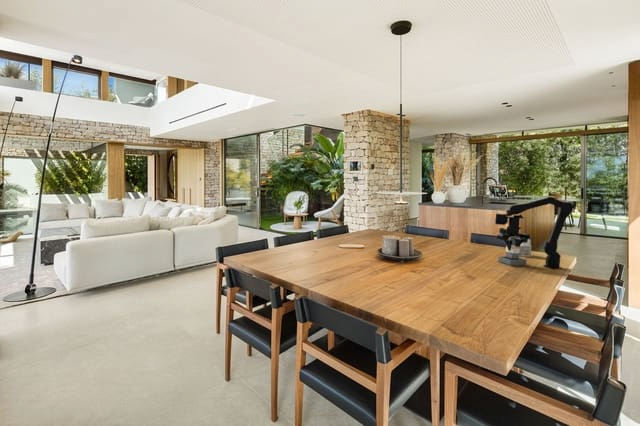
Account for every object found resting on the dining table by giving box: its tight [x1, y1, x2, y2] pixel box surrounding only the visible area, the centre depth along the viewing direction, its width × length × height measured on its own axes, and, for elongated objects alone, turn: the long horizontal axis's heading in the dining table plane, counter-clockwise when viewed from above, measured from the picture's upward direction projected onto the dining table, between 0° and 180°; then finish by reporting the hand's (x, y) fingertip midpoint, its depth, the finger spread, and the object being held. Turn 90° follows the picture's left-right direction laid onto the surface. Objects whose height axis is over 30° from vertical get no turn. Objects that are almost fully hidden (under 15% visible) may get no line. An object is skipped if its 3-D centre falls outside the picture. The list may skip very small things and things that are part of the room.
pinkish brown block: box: [505, 244, 520, 253], centre depth 202 cm, size 6×4×4 cm
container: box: [519, 238, 532, 258], centre depth 223 cm, size 8×8×13 cm
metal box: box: [505, 251, 520, 260], centre depth 202 cm, size 5×5×6 cm
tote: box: [498, 255, 527, 267], centre depth 202 cm, size 11×11×4 cm
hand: (512, 250), depth 202 cm, fingers closed on pinkish brown block, 4 cm apart
